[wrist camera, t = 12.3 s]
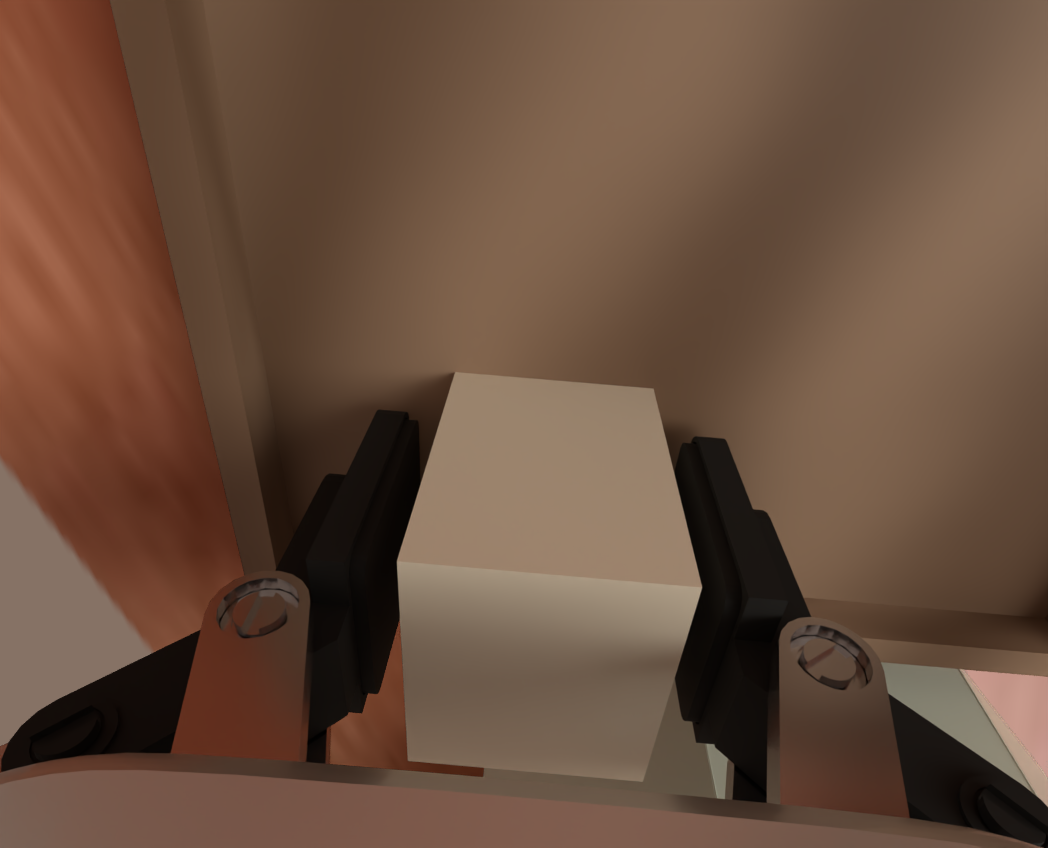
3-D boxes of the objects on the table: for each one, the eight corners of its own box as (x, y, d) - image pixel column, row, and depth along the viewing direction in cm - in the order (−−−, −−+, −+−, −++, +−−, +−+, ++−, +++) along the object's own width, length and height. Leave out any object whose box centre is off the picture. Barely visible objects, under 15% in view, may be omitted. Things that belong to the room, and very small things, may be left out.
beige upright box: (654, 388, 12) (702, 587, 7) (619, 557, 14) (642, 781, 10) (455, 372, 12) (396, 561, 8) (453, 544, 14) (408, 761, 10)
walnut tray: (1643, -191, 7) (1882, -237, 6) (1043, 621, 15) (1091, 680, 14) (117, -304, 8) (21, -375, 6) (280, 555, 15) (252, 607, 14)
